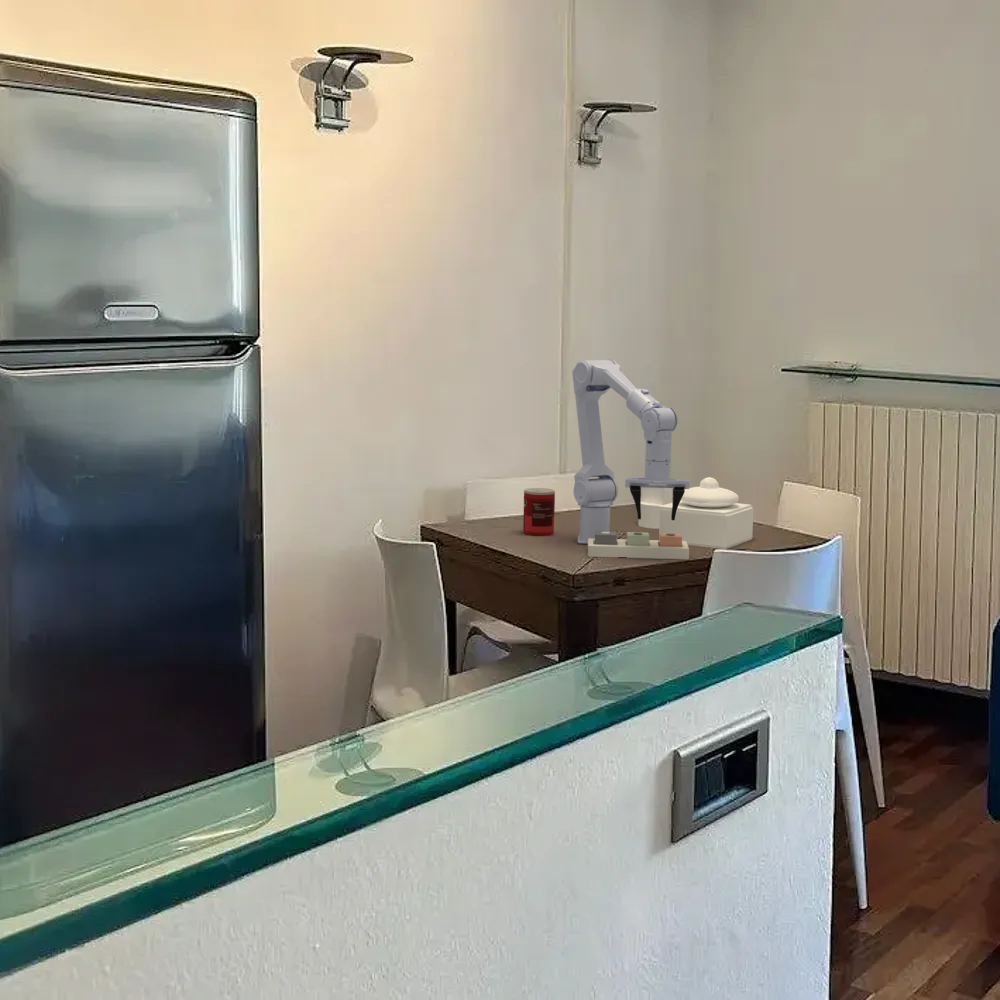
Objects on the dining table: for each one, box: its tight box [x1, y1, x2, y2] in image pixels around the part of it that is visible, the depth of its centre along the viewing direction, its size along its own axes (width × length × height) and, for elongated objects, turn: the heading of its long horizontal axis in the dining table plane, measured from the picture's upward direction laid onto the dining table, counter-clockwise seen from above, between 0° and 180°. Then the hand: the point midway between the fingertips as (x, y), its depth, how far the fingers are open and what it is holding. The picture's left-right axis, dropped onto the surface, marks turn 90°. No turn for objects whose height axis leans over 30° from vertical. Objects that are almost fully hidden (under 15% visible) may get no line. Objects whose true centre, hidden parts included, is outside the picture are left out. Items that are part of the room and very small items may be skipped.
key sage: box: [626, 531, 650, 546], centre depth 317 cm, size 5×5×3 cm
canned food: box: [522, 487, 556, 537], centre depth 343 cm, size 8×8×11 cm
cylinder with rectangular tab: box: [637, 484, 673, 530], centre depth 358 cm, size 9×9×12 cm
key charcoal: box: [595, 531, 618, 545], centre depth 318 cm, size 5×5×3 cm
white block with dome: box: [658, 476, 755, 550], centre depth 337 cm, size 18×18×16 cm
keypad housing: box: [587, 538, 690, 560], centre depth 317 cm, size 10×23×2 cm, turn 86°
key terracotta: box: [658, 532, 682, 547], centre depth 317 cm, size 5×5×3 cm
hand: (656, 519), depth 313 cm, fingers open, 7 cm apart
